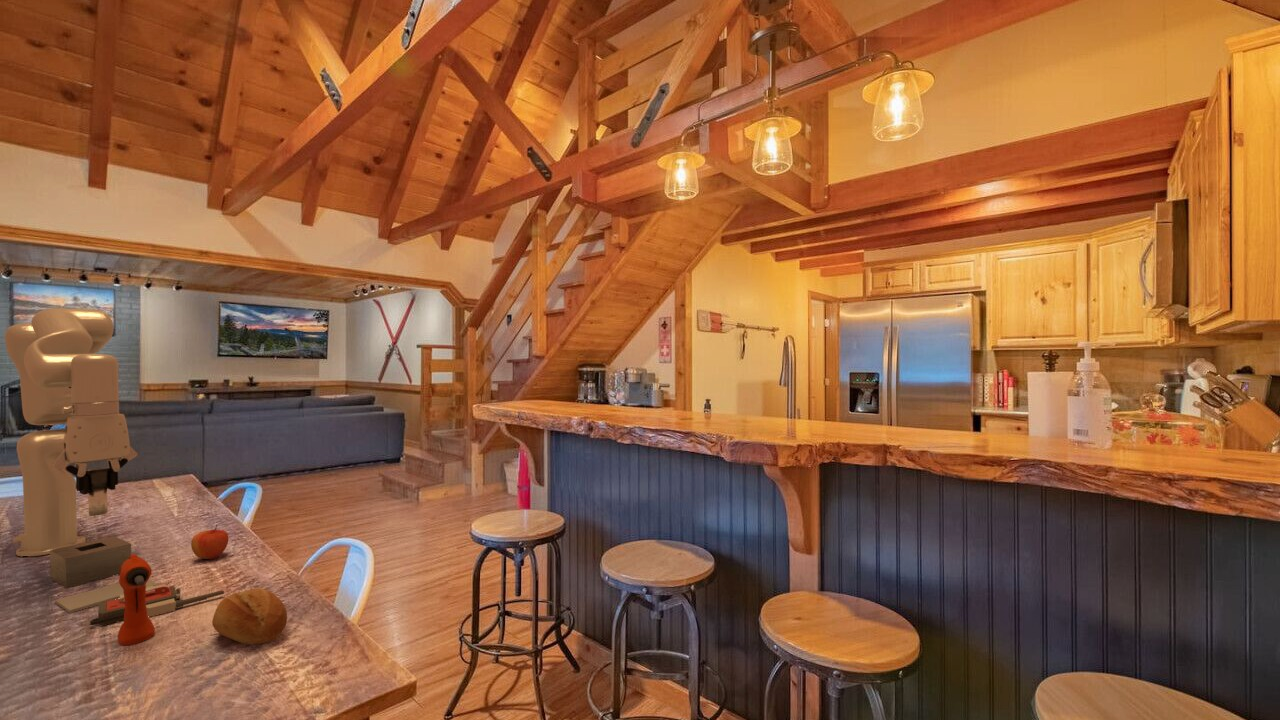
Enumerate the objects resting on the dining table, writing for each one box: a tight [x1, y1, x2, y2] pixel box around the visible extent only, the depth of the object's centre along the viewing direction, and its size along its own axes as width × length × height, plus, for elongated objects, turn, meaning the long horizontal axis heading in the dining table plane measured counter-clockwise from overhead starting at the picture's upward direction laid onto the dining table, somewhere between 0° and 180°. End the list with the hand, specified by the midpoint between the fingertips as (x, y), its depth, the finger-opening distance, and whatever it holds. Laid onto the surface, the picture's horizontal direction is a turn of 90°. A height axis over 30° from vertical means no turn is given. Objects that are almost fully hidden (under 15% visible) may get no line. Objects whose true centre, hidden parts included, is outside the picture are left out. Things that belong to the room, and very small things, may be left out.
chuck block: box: [49, 535, 132, 589], centre depth 128 cm, size 11×11×6 cm
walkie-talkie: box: [89, 583, 225, 626], centre depth 111 cm, size 9×4×20 cm
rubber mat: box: [54, 578, 160, 614], centre depth 117 cm, size 9×14×1 cm, turn 149°
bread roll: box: [212, 588, 288, 645], centre depth 99 cm, size 10×15×8 cm, turn 63°
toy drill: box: [117, 553, 156, 646], centre depth 96 cm, size 5×19×15 cm, turn 46°
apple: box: [190, 524, 229, 560], centre depth 137 cm, size 7×7×8 cm
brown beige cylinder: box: [85, 467, 109, 517], centre depth 123 cm, size 4×4×10 cm
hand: (97, 490), depth 123 cm, fingers closed on brown beige cylinder, 3 cm apart
